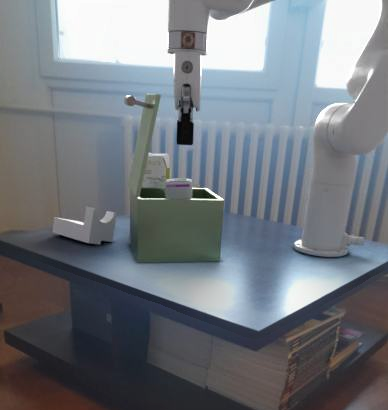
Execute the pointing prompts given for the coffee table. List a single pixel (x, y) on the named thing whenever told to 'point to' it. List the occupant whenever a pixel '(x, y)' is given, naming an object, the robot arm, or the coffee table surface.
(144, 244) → the trash bin
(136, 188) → the bin lid
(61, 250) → the coffee table surface
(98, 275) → the coffee table surface
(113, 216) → the bracket
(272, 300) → the coffee table surface
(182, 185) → the syrup box
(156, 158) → the juice carton
